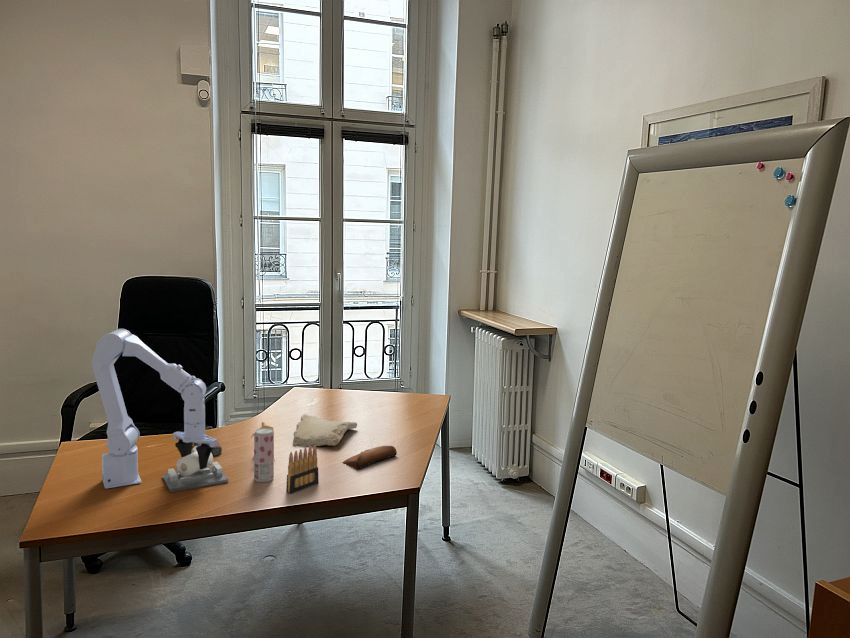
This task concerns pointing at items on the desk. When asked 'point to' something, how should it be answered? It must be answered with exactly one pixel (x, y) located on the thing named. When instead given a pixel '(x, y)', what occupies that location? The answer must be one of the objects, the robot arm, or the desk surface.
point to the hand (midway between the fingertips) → (195, 466)
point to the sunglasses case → (370, 456)
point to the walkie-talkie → (215, 450)
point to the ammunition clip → (302, 470)
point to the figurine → (264, 427)
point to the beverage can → (263, 455)
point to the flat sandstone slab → (320, 431)
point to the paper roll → (191, 464)
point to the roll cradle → (195, 478)
